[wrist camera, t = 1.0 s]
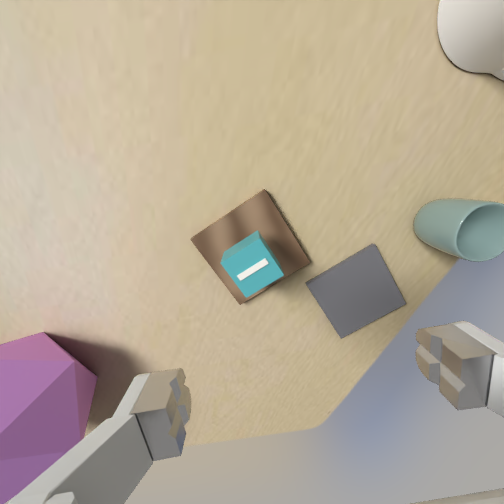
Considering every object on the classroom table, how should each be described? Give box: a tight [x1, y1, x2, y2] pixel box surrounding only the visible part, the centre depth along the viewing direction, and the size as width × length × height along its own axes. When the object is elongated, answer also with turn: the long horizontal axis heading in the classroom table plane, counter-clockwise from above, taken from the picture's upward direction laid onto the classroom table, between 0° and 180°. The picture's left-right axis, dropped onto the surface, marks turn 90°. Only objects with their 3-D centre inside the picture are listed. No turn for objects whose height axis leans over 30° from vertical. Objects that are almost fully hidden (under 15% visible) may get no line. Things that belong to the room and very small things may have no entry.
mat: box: [306, 244, 406, 338], centre depth 43 cm, size 13×13×1 cm
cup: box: [413, 198, 504, 262], centre depth 35 cm, size 8×8×10 cm
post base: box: [190, 189, 310, 305], centre depth 37 cm, size 14×14×8 cm
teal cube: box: [221, 230, 284, 298], centre depth 34 cm, size 6×6×5 cm
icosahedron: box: [0, 332, 97, 504], centre depth 37 cm, size 22×21×25 cm
